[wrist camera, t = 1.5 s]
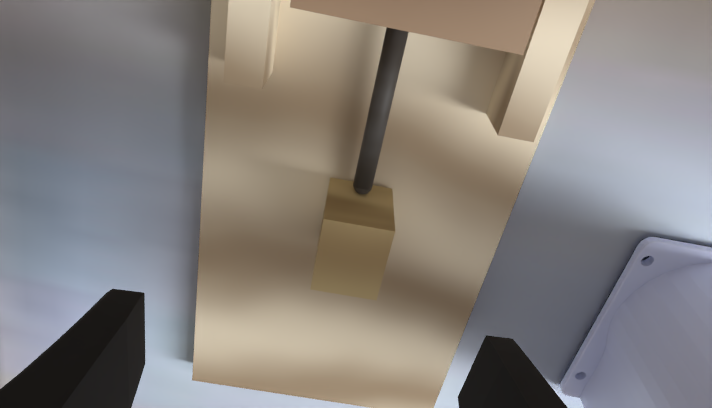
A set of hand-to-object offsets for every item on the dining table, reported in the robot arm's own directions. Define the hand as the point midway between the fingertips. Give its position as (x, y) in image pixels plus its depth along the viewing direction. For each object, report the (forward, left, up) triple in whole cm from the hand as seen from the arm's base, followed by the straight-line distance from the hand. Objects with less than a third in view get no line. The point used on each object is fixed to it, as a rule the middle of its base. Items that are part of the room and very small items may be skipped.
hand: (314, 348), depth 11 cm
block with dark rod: (+4, -1, -9) cm, 10 cm away
